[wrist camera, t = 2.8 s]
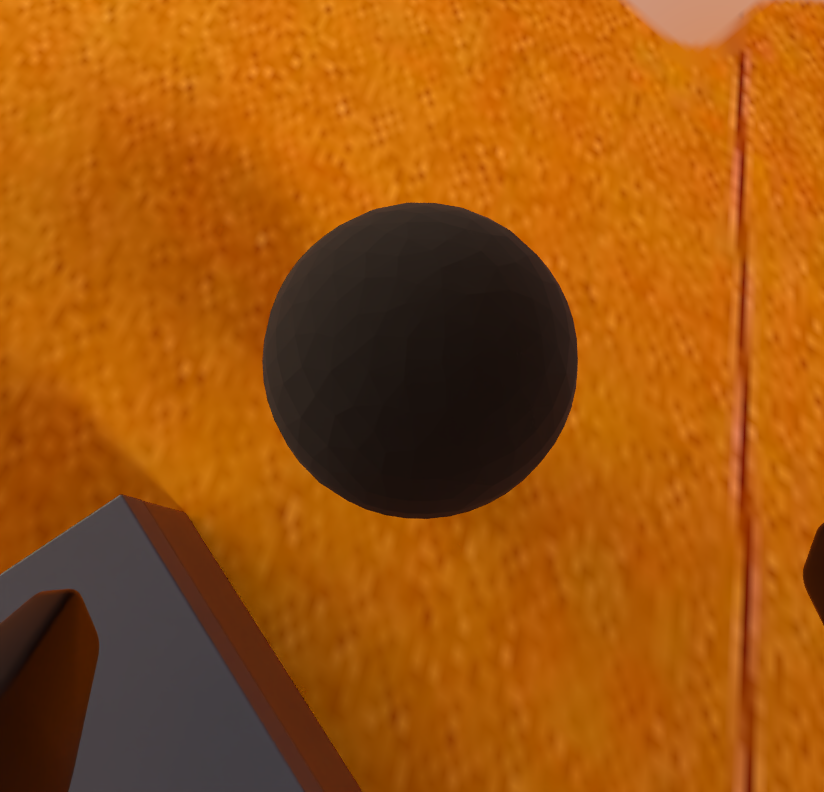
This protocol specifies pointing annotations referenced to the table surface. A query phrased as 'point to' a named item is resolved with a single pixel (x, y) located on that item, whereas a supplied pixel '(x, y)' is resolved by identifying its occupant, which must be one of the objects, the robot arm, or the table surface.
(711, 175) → the table surface
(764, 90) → the table surface
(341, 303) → the light bulb
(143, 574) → the dark grey slab
